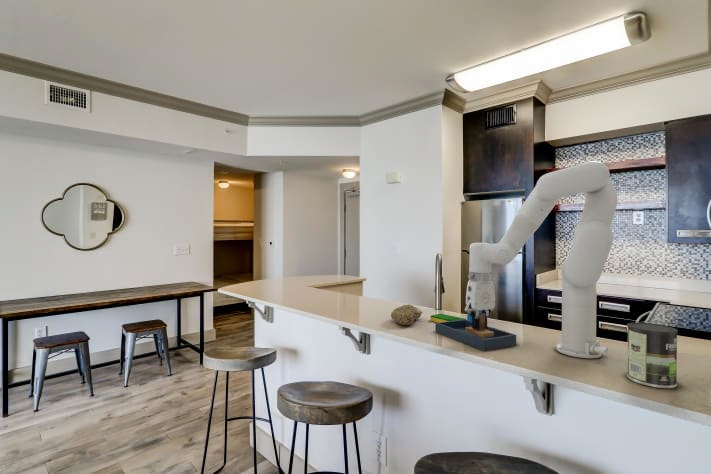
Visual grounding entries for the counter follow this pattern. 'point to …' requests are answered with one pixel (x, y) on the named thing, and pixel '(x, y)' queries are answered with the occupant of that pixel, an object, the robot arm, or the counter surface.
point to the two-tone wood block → (482, 331)
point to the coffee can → (652, 354)
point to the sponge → (406, 314)
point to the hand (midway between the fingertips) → (479, 328)
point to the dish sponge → (443, 318)
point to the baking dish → (458, 333)
